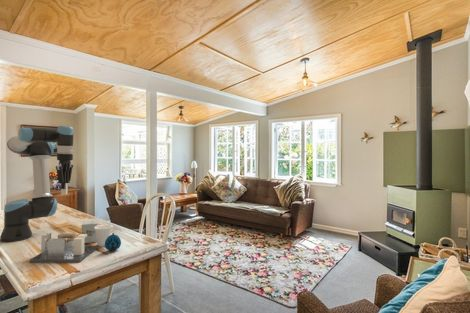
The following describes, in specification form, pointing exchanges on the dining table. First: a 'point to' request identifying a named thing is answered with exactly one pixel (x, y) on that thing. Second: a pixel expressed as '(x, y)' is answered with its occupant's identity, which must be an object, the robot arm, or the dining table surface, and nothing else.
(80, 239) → the block
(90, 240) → the ink box
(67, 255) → the base
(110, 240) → the ornament
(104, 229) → the cup
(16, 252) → the dining table surface
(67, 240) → the strap
